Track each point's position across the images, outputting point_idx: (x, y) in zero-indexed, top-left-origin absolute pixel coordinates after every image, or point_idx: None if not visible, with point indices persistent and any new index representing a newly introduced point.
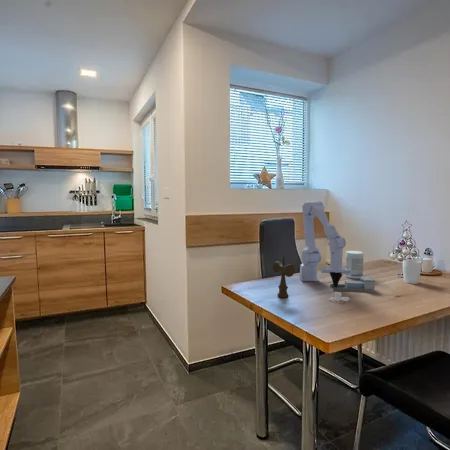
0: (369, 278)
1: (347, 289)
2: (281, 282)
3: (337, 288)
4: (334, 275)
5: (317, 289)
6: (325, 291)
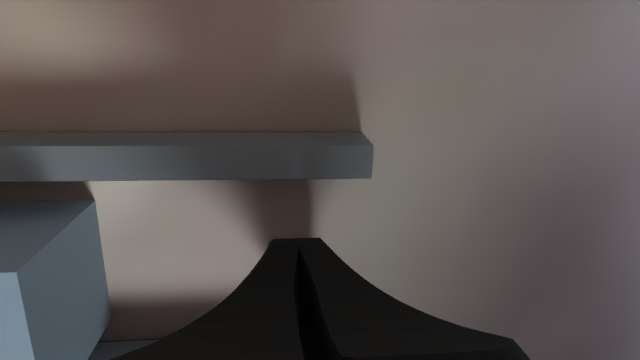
0: None
1: (76, 140)
2: None
3: (288, 142)
4: (446, 351)
5: (614, 181)
6: (519, 78)
